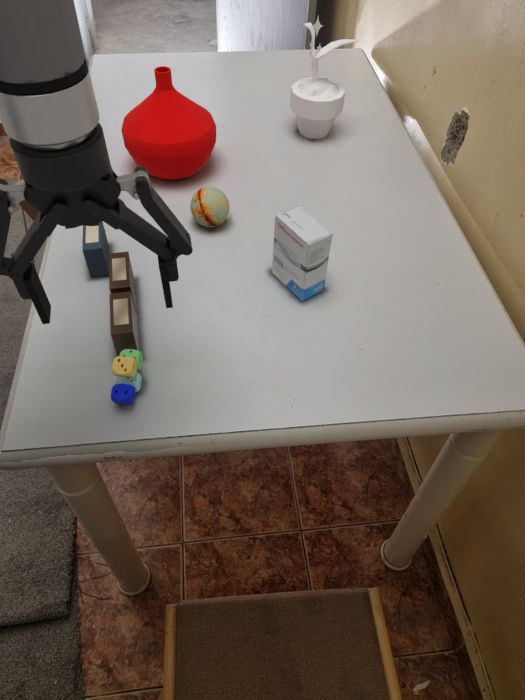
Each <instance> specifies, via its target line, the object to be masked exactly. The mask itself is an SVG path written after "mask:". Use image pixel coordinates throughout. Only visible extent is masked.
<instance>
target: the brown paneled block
mask: <svg viewBox="0 0 525 700" xmlns="http://www.w3.org/2000/svg"><path fill="white" fill-rule="evenodd" d="M108 279H109V280H108V281H109V283H108V284H109V285H108V286H109V292H110V293H109V322H110V323H109V325H110V327H109V328H110V337H111V341H112V343H113V348H114V349H115V353H116V357H118V356H119V355H120V352H121V351H122V350H124V349H133V350H138V351H140V340H139V325H138V324H139V323H138V317H137V316H138V311H137V309H138V308H137V295H136V282H135V275H134V271H133V265H132V261H131V258H130V253H129V251H120V252H111V253H110V252H109V276H108Z"/></svg>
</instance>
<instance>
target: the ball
mask: <svg viewBox="0 0 525 700" xmlns="http://www.w3.org/2000/svg"><path fill="white" fill-rule="evenodd" d="M189 207H190V208H189V209H190V214H191V215H192V217H193V219H194V220H195V221H196V222H197V223H198V224H199V225H201V226H203V227H206V228H214V227H215V228H216V227H218V226H220V225H222V224H223V223H224V222H225V221H226V220H227V218H228V216H229V213H230V207H231V206H230V201H229V199H228V197H227V195H226V193H225V192H224V191H223V190H221V189H220V188H218V187H216V186H204V187H201V188H200V189H198V190H196V192H195V193H194V194H193V196H192V197H191V199H190V206H189Z"/></svg>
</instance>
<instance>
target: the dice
mask: <svg viewBox="0 0 525 700" xmlns="http://www.w3.org/2000/svg"><path fill="white" fill-rule="evenodd" d="M143 360H144V358H143V353H142V351H140V350H139V351H138V350H133V349H124V350H122V351H121V352H120V355H119V356H118V357H117V356H115V357H114V358H113V360H112V363H111V373H112V375H113V376H114V377H118V380H117V383H115V384H114V385H112V387H111V390H110V400H111V402H112V403H114V404H118V405H131V404H133V403H134V402H135V400H136V393H137V392H139V391H140V390H141V387H142V381H143V379H142V374H140V373H139V372H138V371H140V370H141V368H142V367H143V366H142V365H143Z"/></svg>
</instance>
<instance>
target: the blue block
mask: <svg viewBox="0 0 525 700" xmlns="http://www.w3.org/2000/svg"><path fill="white" fill-rule="evenodd" d="M81 248H82V253H83V257H84V260H85V263H86V267H87V270H88V273H89V276H90V279H98V278H106V277H109V253H110V245H109V241H108V236H107V234H106V229H105V226H104V221H102V222H100V223H99V226H83V225H82V247H81Z"/></svg>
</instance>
